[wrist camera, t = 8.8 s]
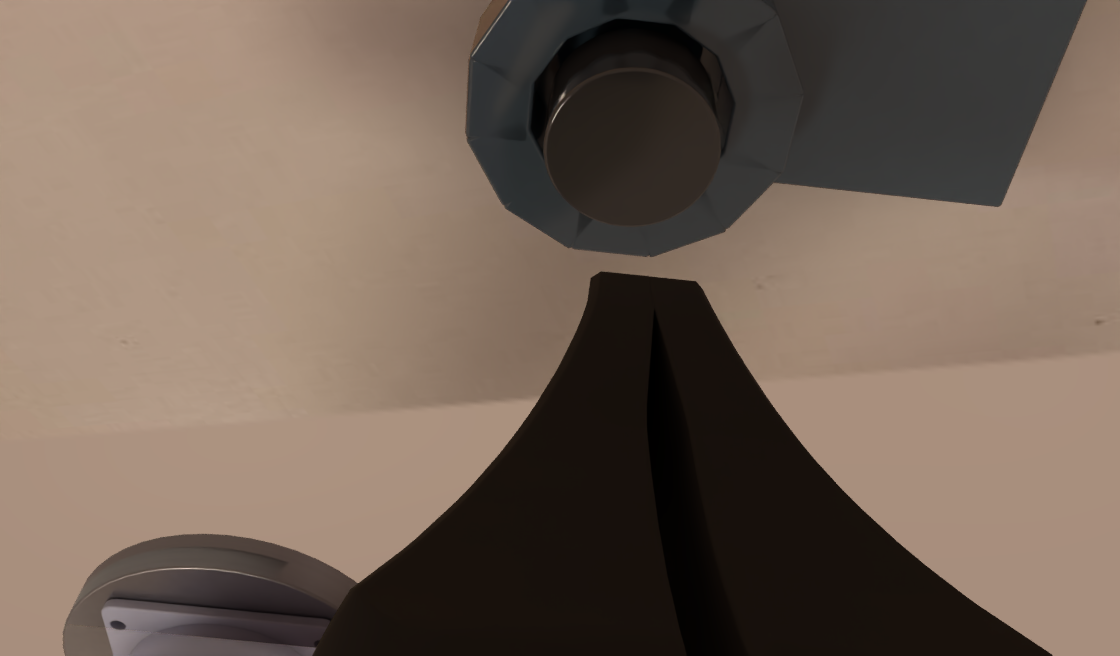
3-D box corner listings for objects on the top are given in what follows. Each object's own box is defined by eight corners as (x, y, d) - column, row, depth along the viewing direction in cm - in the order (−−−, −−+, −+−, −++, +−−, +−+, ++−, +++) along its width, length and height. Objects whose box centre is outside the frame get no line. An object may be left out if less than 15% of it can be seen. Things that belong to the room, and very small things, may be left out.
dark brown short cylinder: (697, 187, 20) (703, 237, 18) (541, 170, 20) (535, 218, 18) (728, 36, 18) (738, 79, 16) (556, 17, 18) (551, 58, 16)
